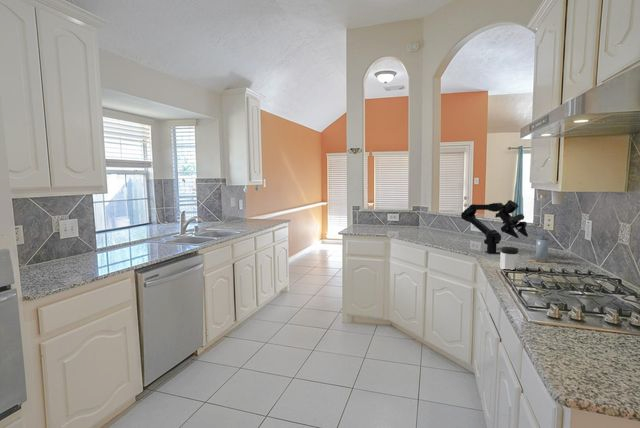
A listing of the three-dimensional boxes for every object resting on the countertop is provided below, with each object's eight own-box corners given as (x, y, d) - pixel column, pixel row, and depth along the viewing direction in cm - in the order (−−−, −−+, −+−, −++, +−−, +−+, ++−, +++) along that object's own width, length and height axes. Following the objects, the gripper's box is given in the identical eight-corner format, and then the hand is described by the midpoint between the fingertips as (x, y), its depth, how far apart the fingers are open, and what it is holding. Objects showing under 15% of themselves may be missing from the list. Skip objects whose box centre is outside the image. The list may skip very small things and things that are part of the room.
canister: (533, 260, 210) (534, 234, 209) (543, 260, 211) (544, 234, 209) (539, 263, 204) (541, 236, 203) (550, 262, 204) (551, 236, 203)
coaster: (525, 260, 213) (525, 259, 213) (544, 260, 214) (544, 259, 214) (538, 265, 201) (538, 264, 201) (558, 265, 202) (558, 264, 202)
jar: (512, 272, 189) (513, 250, 188) (497, 269, 196) (498, 248, 195) (520, 269, 194) (521, 248, 193) (506, 266, 201) (506, 246, 199)
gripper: (505, 210, 216) (522, 230, 207) (524, 209, 224) (541, 227, 215) (493, 222, 223) (509, 241, 214) (512, 220, 232) (528, 238, 223)
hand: (522, 237), depth 216 cm, fingers open, 9 cm apart
